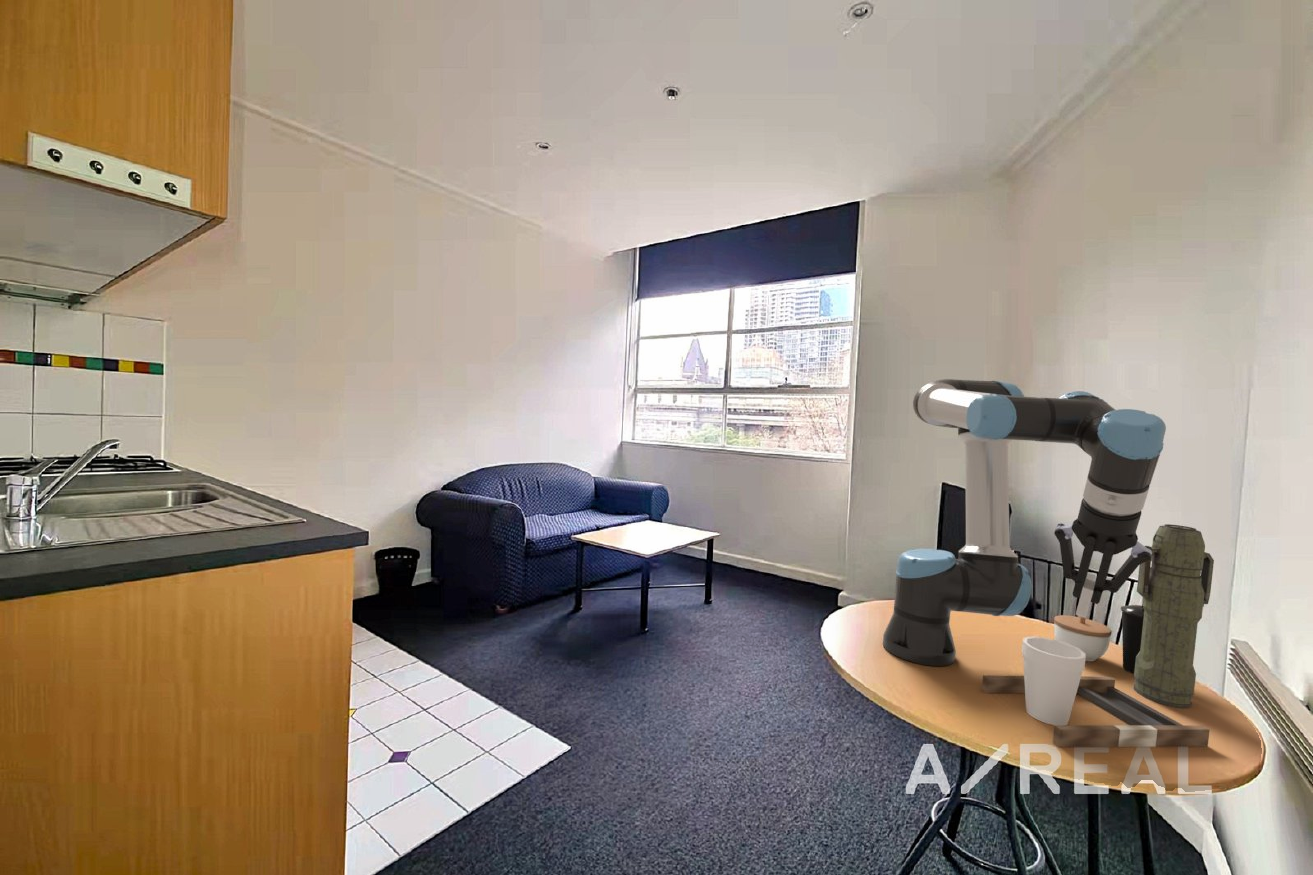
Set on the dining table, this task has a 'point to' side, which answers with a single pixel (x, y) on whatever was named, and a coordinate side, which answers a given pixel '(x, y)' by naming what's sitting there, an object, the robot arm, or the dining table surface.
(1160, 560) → the thermos
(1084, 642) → the lidded jar
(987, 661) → the dining table surface
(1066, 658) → the foam cup
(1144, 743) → the lane
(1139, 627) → the drinking cup
